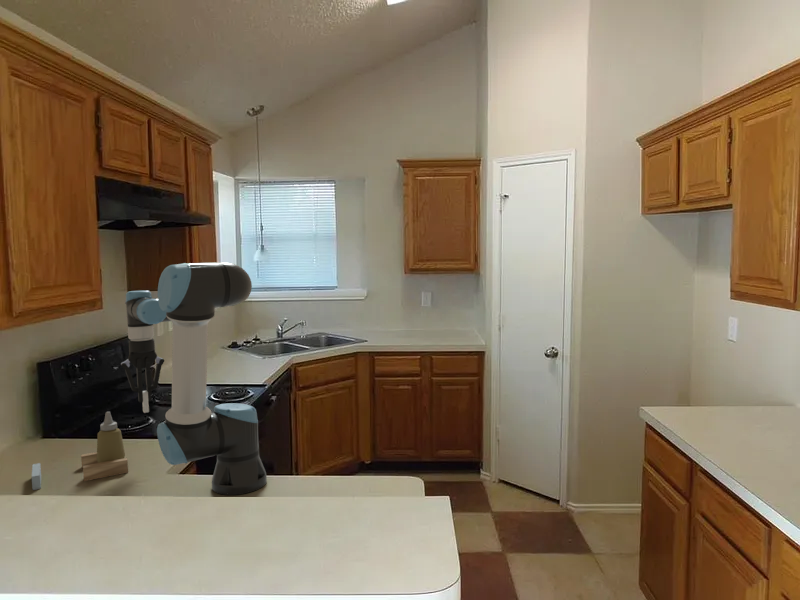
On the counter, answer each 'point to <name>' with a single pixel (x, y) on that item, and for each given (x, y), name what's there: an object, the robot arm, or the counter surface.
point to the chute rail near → (105, 469)
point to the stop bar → (36, 476)
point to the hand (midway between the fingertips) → (145, 411)
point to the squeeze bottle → (109, 441)
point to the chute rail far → (89, 459)
